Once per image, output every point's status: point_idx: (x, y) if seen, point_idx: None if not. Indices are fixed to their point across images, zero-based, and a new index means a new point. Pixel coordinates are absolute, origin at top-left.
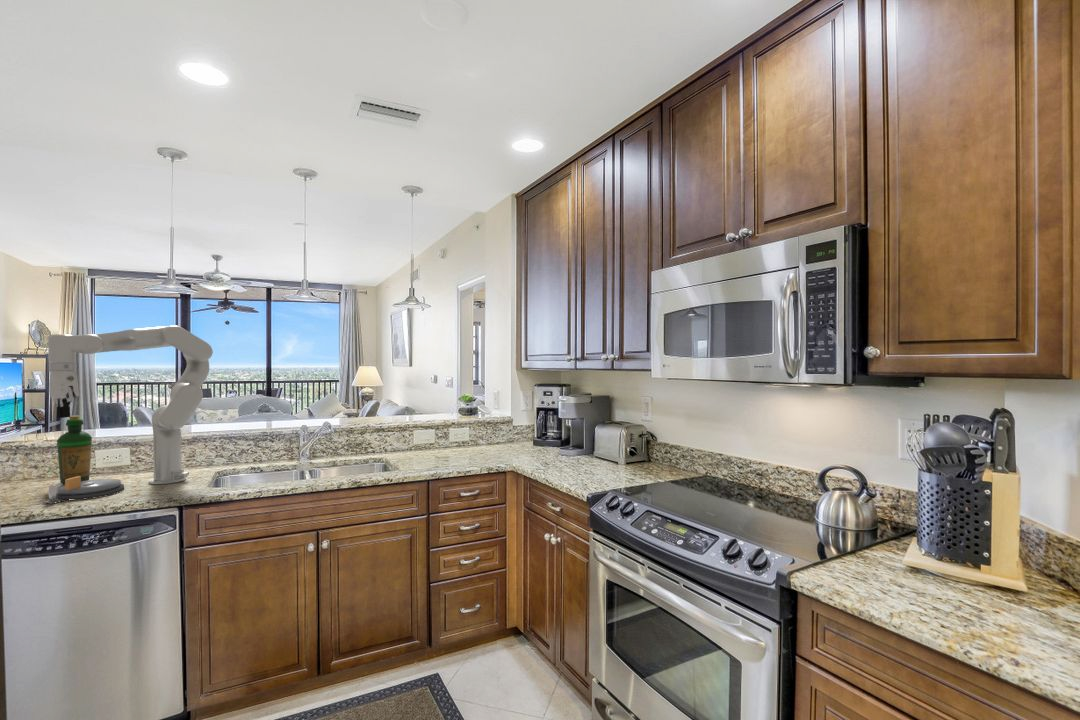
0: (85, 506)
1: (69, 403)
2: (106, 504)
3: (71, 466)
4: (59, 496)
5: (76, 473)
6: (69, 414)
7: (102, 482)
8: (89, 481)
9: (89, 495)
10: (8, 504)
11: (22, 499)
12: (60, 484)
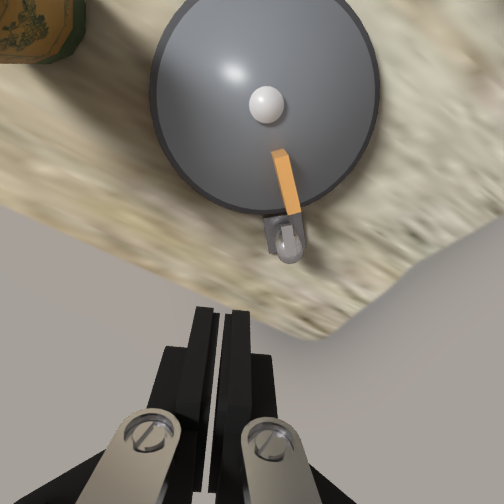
0: (433, 231)
1: (343, 499)
2: (480, 197)
3: (38, 40)
4: (276, 212)
5: (63, 26)
6: (249, 329)
7: (283, 55)
8: (203, 57)
9: (354, 164)
10: (170, 280)
11: (134, 232)
12: (292, 230)
